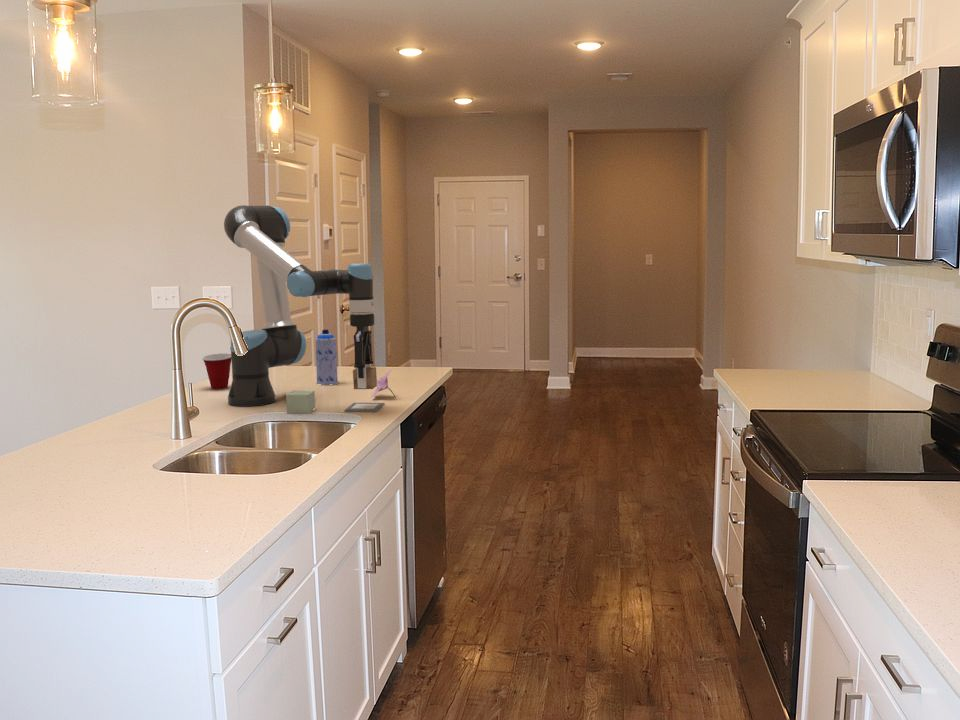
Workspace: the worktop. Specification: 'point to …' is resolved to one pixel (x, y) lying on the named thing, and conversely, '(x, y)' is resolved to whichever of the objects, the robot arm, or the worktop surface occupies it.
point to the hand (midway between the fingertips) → (364, 386)
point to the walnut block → (370, 378)
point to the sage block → (300, 402)
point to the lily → (382, 384)
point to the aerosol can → (326, 358)
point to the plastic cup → (218, 369)
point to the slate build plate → (364, 407)
